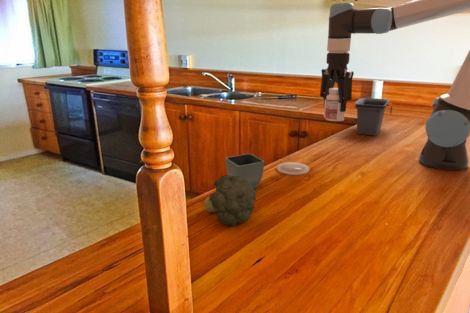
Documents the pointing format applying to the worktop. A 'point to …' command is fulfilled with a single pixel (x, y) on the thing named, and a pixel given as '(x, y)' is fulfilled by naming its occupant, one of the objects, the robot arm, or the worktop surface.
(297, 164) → the coaster
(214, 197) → the vegetable
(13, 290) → the worktop surface
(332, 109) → the pill bottle
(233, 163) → the flower pot
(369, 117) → the storage bin
